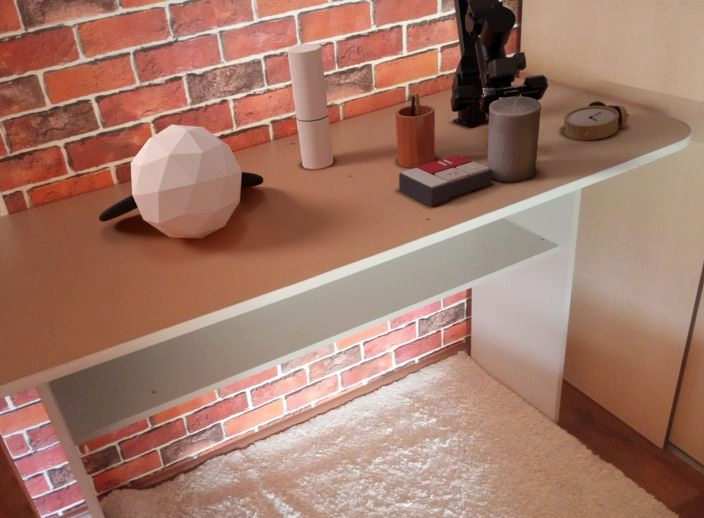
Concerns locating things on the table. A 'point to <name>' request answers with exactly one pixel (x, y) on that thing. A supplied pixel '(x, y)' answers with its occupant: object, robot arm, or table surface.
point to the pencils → (414, 99)
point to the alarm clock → (594, 121)
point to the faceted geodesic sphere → (184, 183)
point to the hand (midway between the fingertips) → (505, 132)
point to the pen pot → (415, 136)
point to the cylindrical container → (310, 105)
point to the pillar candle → (513, 138)
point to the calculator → (444, 179)
